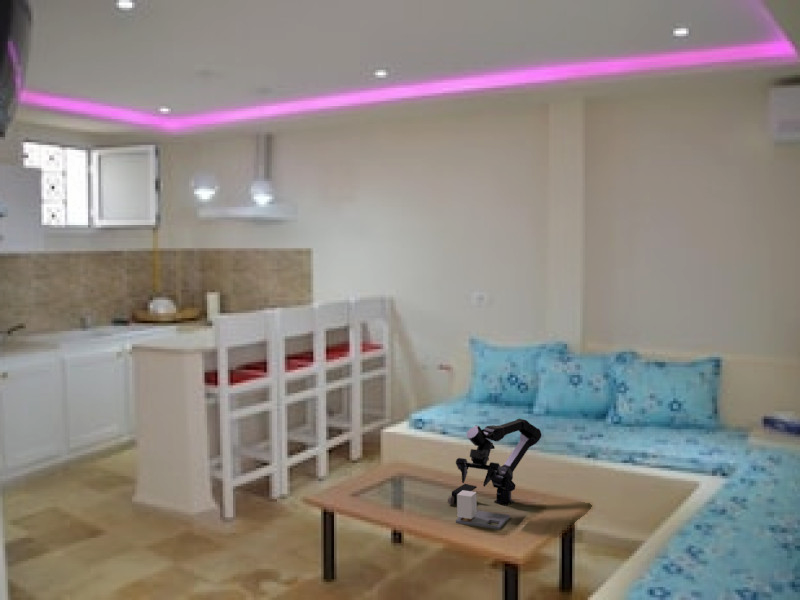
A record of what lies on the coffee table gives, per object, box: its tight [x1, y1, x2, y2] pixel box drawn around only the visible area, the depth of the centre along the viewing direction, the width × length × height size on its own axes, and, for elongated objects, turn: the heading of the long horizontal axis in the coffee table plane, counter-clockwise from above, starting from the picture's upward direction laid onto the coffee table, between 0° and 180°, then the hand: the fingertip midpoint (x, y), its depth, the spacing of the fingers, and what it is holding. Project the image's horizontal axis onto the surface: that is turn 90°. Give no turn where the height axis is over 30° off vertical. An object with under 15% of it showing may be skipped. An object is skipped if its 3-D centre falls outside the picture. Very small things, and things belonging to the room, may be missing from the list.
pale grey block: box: [456, 490, 478, 521], centre depth 285 cm, size 6×6×11 cm
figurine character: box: [447, 483, 478, 505], centre depth 308 cm, size 7×8×15 cm
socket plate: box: [455, 510, 511, 530], centre depth 286 cm, size 14×18×2 cm
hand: (473, 484), depth 291 cm, fingers open, 9 cm apart
